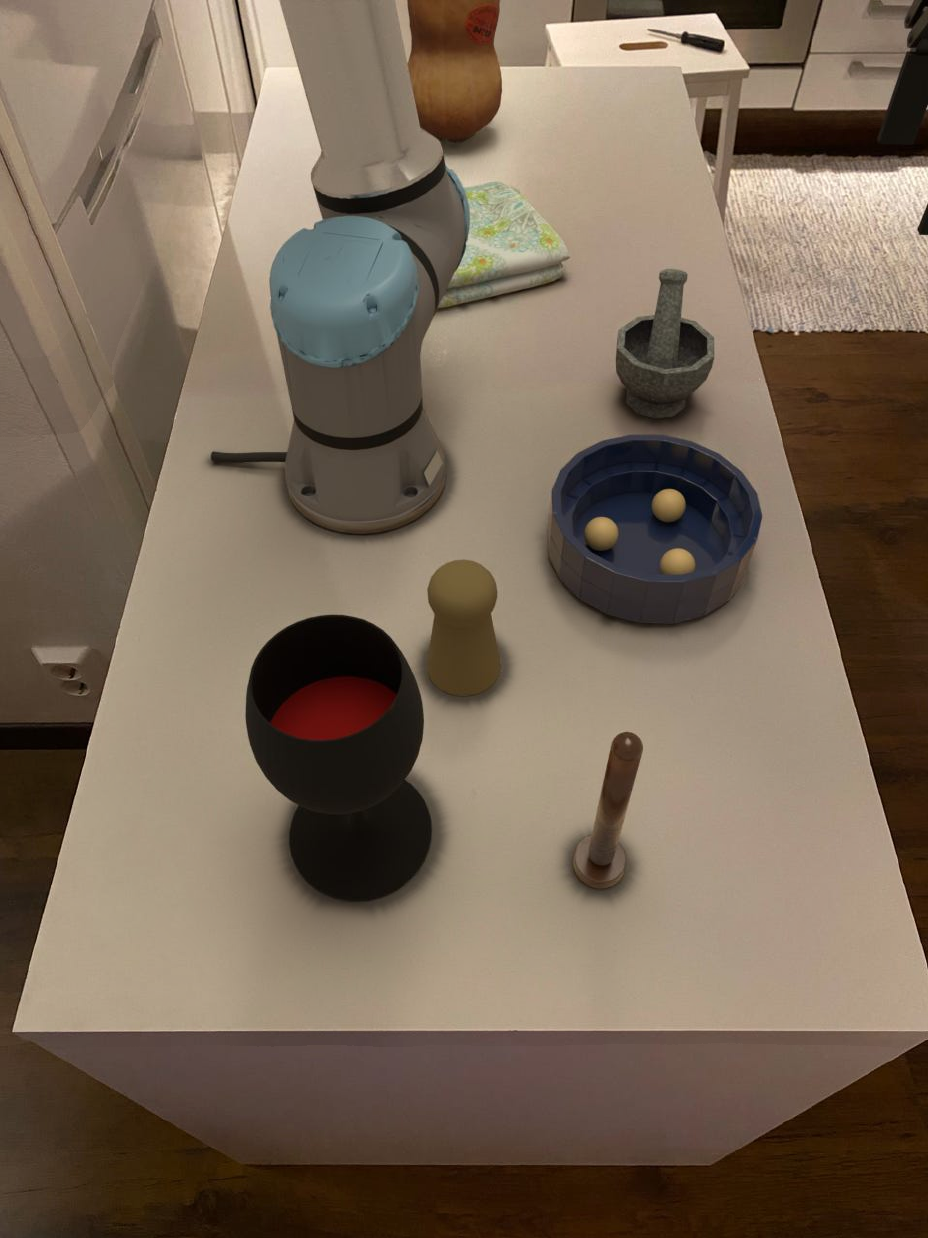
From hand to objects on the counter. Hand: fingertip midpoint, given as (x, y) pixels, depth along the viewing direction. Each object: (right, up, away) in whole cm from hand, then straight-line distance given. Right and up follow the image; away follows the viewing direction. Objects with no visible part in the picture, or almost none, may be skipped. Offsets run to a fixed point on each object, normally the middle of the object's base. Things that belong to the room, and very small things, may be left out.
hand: (914, 185), depth 72 cm
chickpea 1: (-22, -25, +12) cm, 36 cm away
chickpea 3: (-16, -28, +10) cm, 34 cm away
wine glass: (-42, -48, -3) cm, 64 cm away
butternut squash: (-35, +36, +63) cm, 81 cm away
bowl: (-18, -27, +13) cm, 35 cm away
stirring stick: (-25, -50, -5) cm, 56 cm away
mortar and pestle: (-14, -10, +27) cm, 32 cm away
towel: (-34, +10, +43) cm, 56 cm away
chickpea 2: (-16, -23, +14) cm, 31 cm away
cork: (-34, -37, +6) cm, 51 cm away
